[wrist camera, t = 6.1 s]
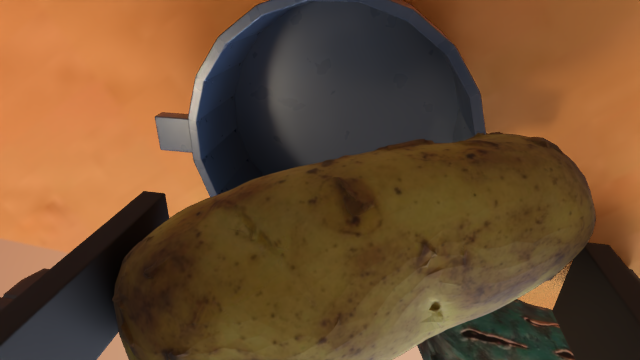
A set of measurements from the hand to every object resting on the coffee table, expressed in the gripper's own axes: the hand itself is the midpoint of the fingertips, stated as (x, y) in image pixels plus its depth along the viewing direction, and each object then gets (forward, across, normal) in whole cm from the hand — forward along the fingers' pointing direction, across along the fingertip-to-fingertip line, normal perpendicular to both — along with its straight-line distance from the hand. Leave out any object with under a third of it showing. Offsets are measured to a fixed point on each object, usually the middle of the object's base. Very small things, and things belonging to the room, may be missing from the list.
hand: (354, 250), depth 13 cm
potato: (+3, 0, 0) cm, 3 cm away
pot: (+19, -2, -2) cm, 19 cm away
